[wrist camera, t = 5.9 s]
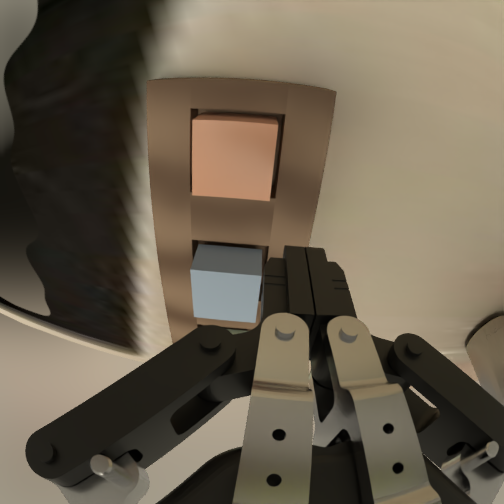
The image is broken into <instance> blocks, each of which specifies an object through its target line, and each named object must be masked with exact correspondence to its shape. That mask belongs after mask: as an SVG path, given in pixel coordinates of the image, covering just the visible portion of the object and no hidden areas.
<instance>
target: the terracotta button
mask: <svg viewBox="0 0 504 504" xmlns="http://www.w3.org/2000/svg"><path fill="white" fill-rule="evenodd" d="M277 132H278V122H277V118H276V117H274V116H263V115H251V114H237V113H217V112H202V113H201V114H200V115H198V116H197V117H196V118H194V119H193V120H192V195H195V196H211V197H225V198H238V199H250V200H261V201H270V193H271V185H272V176H273V167H274V159H275V150H276V141H277Z"/></svg>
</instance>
